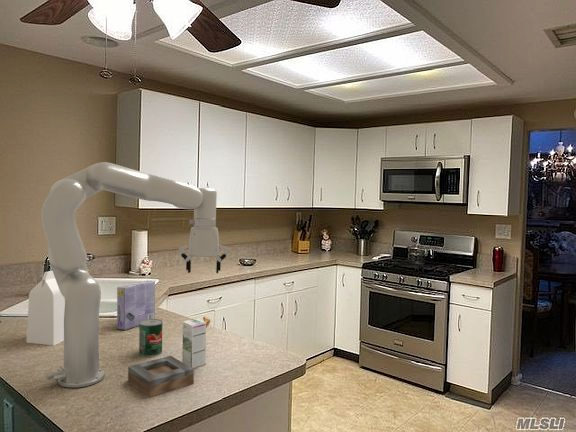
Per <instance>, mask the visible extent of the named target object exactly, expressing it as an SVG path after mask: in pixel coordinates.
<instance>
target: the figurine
mask: <svg viewBox="0 0 576 432" xmlns="http://www.w3.org/2000/svg"><path fill="white" fill-rule="evenodd" d="M202 321H204V322H206V329H207V328H208V326H209V325H210V323H211V319H210V318H209V317H206V316H203V318H202Z"/></svg>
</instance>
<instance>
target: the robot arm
mask: <svg viewBox="0 0 576 432" xmlns="http://www.w3.org/2000/svg"><path fill="white" fill-rule="evenodd" d="M101 191H107V192H110V193H115V194H119V195H123V196H127V197H130V198H134V199H137V200H143V201H149V202H158V203H165V204H168V205H169V204H170V205H173V206H174V207H175V208H178V209H183V210H193V219H189V225H193V226H192V227H191V228H190V232H189V241H188V243H187V244H184V245H183V246H180V247H179V248H178V252H179V254H180V256H181V257H182V259H184V260H185V262H186V263H185V264H186V265H185V271H187V273H188V274H191V269H192V260H191V259H192V258H193V257H194V258H195V257H199V258H202V257H204V258H205V257H209V258H213V257H214V258H215V259H216V268H215V272H216V274H219V272H220V271H221V262H222V261H223V260H224V259H225V258H226V257H227V256H228V254H229V252H230V249H229V248H228V247H226V246H224V245H222V244H220V242H219V241H220V238H219V237H220V236H219V229H218V227H217V225H216V223H217V193H218V192H217V191H216V189H215V188H209V187H196V186H193V185H190V184H187V183H184V182H179V181H176V180H172V179H169V178H164V177H161V176H158V175H154V174H151V173H146V172H142V171H140V170H137V169H134V168H133V169H132V168H129V167H127V166H123V165H119V164H116V163H112V162H109V161H108V162H107V161H103V162H102V161H101V162H96V163H93V164H92V165H89V166H87V167H86V168H84V169H82V170H79V171H77V172H75V173H72V174H71V175H68V176H66V177H64V178H62V179H59V180H57V181H56V182H55V183H54V184H52V186H51V187H50V190H49V194H48V195H47V196H46V198H45V199H44V200H45V201H44V202H43V206H42V208H41V213H40V215H41V217H40V218H41V224H42V229H43V231H44V236H45V238H46V242H47V245H48V249H47V250H48V251H47V258H48V262H49V265H50V269H51V271H53V274H54V276H55V279H56V282H57V285H58V287H59V290H60V292H61V294H62V295H63V297H64V298H65V310H64V341H63V365H60V368H58V369H56V370H55V371H50V372H46V373H45V380H46V381H48V380H53V381H54V382H55V381H57V383H58V385H59V386H61V387H64V388H75V389H76V388H84V387H88V386H92V385H94V384H97V383H99V382H100V381H102V380H103V379H104V377H105V371H104V370H103V369H102V368H100V364H99V363H100V359H99V358H100V353H99V352H100V342H99V341H100V308H101V307H100V306H101V298H102V297H101V295H102V291H101V287H100V284H99V282H98V281H97V279H95V278H94V277H93V276H91V275H90V272H89V269H88V267H87V260H88V254H87V251H86V250H87V249H85V248H86V247H85V246H84V244H83V241H82V238H81V235H80V232H79V229H78V225H77V222H76V212H77V210H78V208H79V207H80V206H81V205H82V204H83V203H84V202H85V201H86V199H87V198H90V197H92V196H95V194H98V193H99V192H101ZM187 249H188V254H186V253H185V251H184V250H187ZM220 250H222V251H223V254H221V255H219V253H220V252H219V251H220Z"/></svg>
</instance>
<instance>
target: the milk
mask: <svg viewBox="0 0 576 432" xmlns="http://www.w3.org/2000/svg"><path fill="white" fill-rule="evenodd" d="M27 305H28V307H27V308H28V309H27V328H26V329H27V330H26V343H27V344H34V345H35V344H37V345H48V346H55V345H57V344H60V343H62V342H64V310H65V298H64V297H63V295H62V294H61V292H60V290H59V287H58V285H57V282H56V279H55V276H54V274H53V271H52V270H49V271H45V272H43V276H42V278H41V280H40V281H39V282H38V283H37V284H36V285H35V286H34V287H32V289H31V290H30V291H29V292H28V304H27Z"/></svg>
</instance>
